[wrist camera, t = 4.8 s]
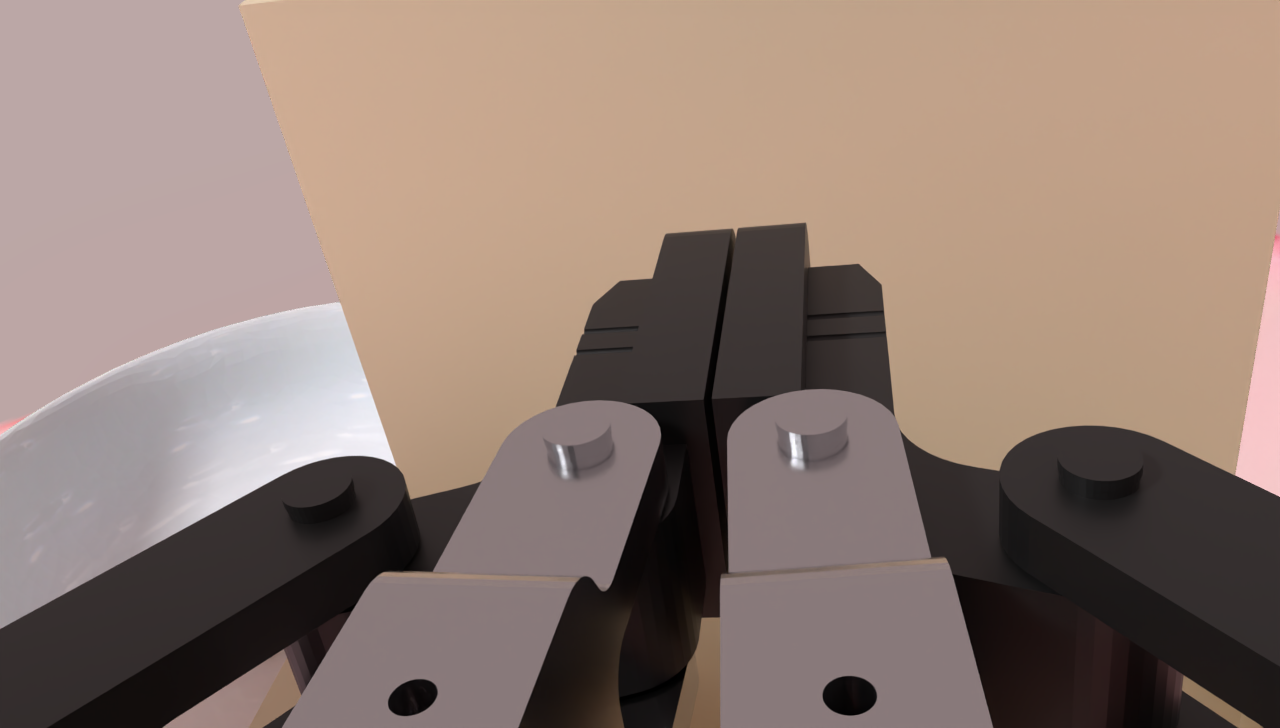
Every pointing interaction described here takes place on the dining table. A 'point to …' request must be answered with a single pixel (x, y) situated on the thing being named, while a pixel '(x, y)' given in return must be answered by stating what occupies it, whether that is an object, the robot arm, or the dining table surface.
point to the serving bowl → (177, 459)
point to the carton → (708, 695)
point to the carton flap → (796, 195)
